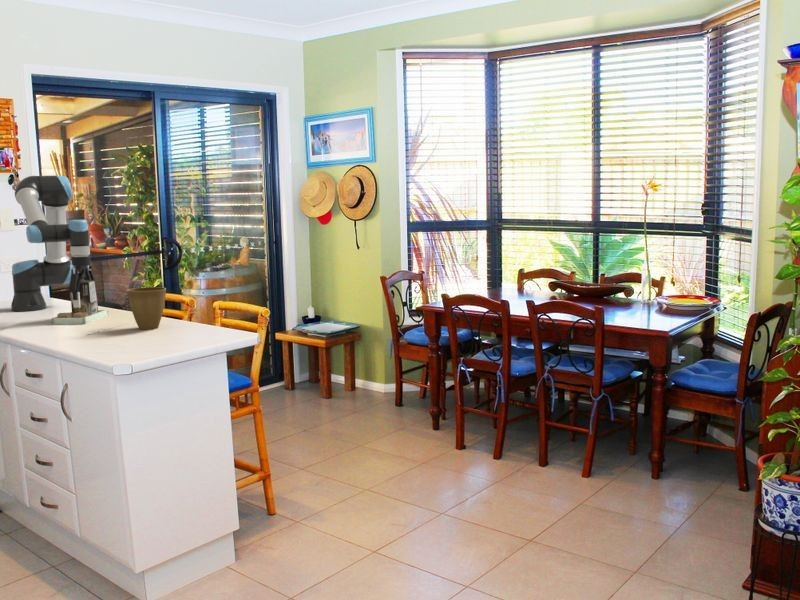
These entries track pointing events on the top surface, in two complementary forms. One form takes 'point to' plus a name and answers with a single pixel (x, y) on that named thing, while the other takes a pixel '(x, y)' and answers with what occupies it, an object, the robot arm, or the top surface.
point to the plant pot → (147, 305)
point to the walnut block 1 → (63, 315)
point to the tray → (80, 320)
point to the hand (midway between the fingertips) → (84, 305)
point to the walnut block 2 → (80, 315)
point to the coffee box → (86, 298)
